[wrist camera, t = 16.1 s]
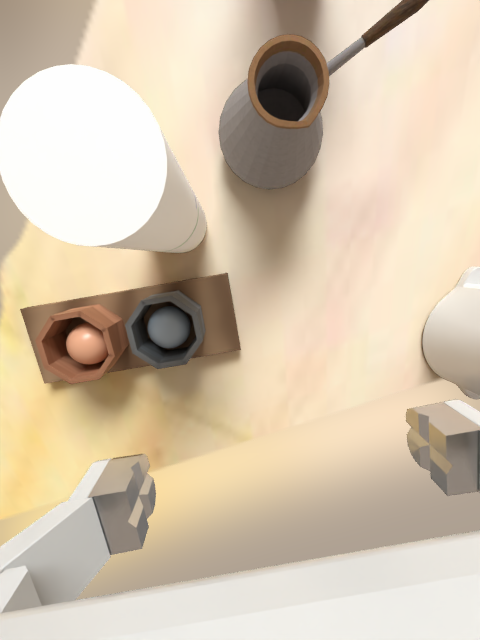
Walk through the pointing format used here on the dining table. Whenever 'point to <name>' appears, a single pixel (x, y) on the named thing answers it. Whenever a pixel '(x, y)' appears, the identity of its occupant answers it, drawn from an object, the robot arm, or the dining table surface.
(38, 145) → the cylindrical container
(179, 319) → the slate ball
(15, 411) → the dining table surface
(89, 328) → the terracotta ball
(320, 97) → the coffee pot
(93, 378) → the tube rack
